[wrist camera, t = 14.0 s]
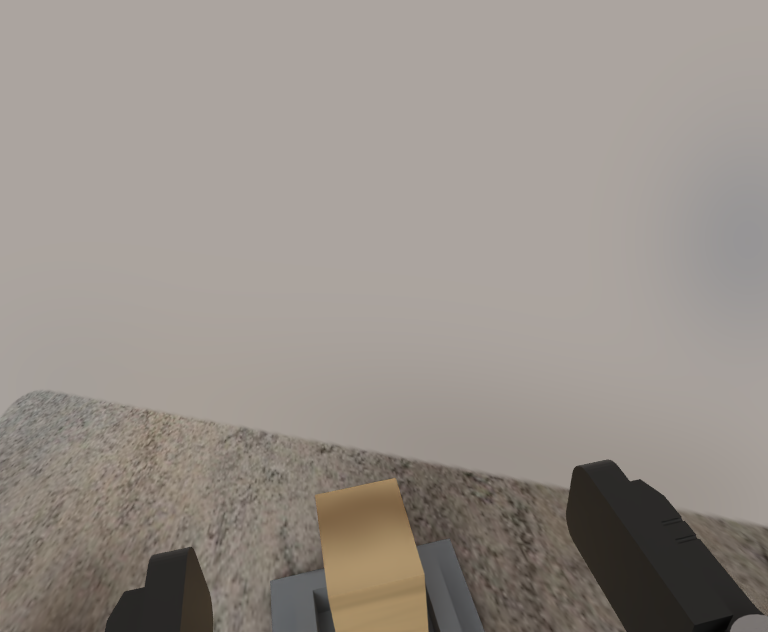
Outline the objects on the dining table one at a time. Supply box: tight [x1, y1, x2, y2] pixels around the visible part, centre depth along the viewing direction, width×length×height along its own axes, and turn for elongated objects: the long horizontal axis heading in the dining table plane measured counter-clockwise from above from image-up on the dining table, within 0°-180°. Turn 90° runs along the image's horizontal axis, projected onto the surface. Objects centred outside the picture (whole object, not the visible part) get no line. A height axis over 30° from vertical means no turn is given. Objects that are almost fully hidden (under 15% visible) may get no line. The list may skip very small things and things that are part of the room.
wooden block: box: [315, 478, 429, 632], centre depth 31 cm, size 6×4×12 cm
